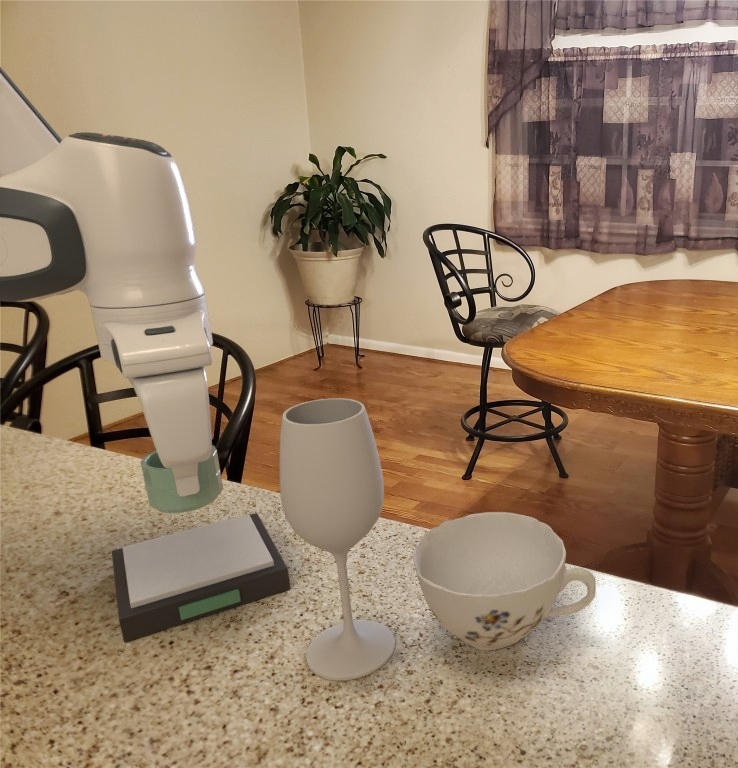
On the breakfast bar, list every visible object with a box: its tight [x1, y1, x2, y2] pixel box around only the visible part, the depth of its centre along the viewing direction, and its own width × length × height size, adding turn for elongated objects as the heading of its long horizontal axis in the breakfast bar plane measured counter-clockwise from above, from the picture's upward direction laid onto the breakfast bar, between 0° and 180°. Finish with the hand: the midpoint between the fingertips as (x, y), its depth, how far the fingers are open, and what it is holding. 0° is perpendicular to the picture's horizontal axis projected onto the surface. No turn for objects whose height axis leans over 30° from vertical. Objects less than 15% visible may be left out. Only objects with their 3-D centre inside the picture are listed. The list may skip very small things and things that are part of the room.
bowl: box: [140, 444, 224, 514], centre depth 64 cm, size 6×6×4 cm
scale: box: [111, 512, 291, 643], centre depth 66 cm, size 14×13×3 cm
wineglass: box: [279, 397, 396, 681], centre depth 54 cm, size 8×8×21 cm
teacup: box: [413, 511, 597, 651], centre depth 57 cm, size 15×12×8 cm
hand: (182, 476), depth 64 cm, fingers closed on bowl, 6 cm apart
